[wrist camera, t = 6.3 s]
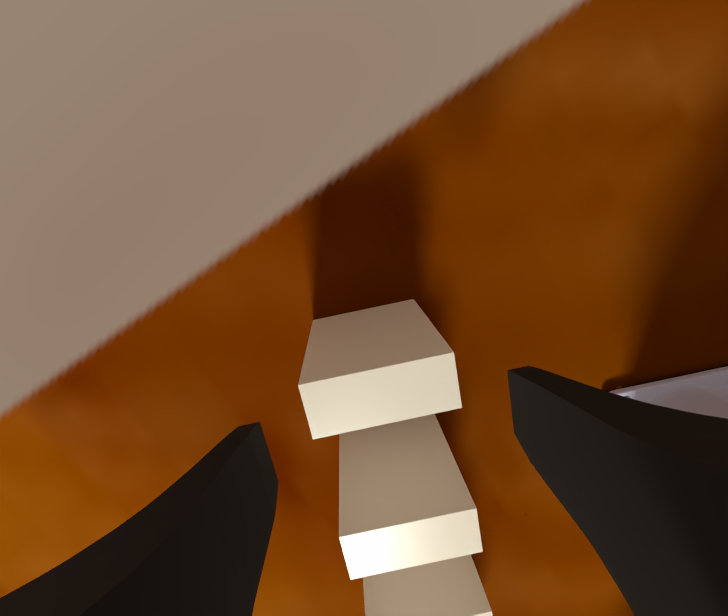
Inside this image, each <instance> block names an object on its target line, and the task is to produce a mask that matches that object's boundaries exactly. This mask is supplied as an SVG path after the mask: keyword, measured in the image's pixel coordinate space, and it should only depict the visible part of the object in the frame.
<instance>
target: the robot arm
mask: <svg viewBox="0 0 728 616" xmlns="http://www.w3.org/2000/svg"><path fill="white" fill-rule="evenodd" d="M507 372H508V381H509V390H510V399H511V408H512V417H513V425H514V433H515V435H516V437H517V439H518V440H519V442H520V444H521V446H522V448H523V450H524V451H525V453H526V455H527V456H528V458H529V460H530V462H531V463H532V465H533V466H534V467H535V469H536V470H537V471H538V473H539V474H540V476H541V477H542V478H543V480H544V481H545V482H546V484H547V485H548V486H549V488H550V489H551V490H552V492H553V493H554V494H555V496H556V497H557V498H558V500H559V501H560V502H561V504H562V505H563V506H564V508H565V509H566V510H567V511H568V513H569V514H570V515H571V517H572V518H573V519H574V521H575V522H576V523H577V525H578V526H579V527H580V529H581V530H582V531H583V533H584V534H585V536H586V537H587V538H588V540H589V541H590V543H591V544H592V546H593V547H594V549H595V550H596V552H597V553H598V555H599V557H600V558H601V560H602V561H603V563H604V565H605V566H606V568H607V569H608V571H609V573H610V574H611V576H612V578H613V579H614V581H615V582H616V584H617V586H618V587H619V589H620V591H621V592H622V594H623V596H624V597H625V599H626V601H627V602H628V604H629V606H630V608H631V609H632V611H633V613H634V614H635V616H728V366H726V367H722V368H717V369H712V370H707V371H703V372H698V373H693V374H688V375H684V376H679V377H674V378H669V379H665V380H660V381H655V382H650V383H646V384H641V385H636V386H632V387H627V388H622V389H617V390H613V391H610V392H607V391H604V390H601V389H598V388H595V387H591V386H588V385H585V384H583V383H580V382H577V381H574V380H571V379H568V378H565V377H562V376H559V375H556V374H554V373H551V372H548V371H545V370H541V369H538V368H535V367H530V366H526V367H522V368H517V369H512V370H507ZM624 396H626V397H624ZM277 490H278V479H277V476H276V473H275V470H274V466H273V463H272V460H271V457H270V453H269V450H268V447H267V444H266V441H265V437H264V434H263V431H262V428H261V424H260V422H257V423H252V424H248V425H243V426H239V427H237V428H236V429H235V430H233V431H232V432H231V433H230V434H229V435H227V436H226V437H225V438H224V439H223V440H222V441H221V442H220V443H218V444H217V445H216V446H215V447H214V448H213V449H212V450H211V451H210V452H209V453H208V454H207V455H205V456H204V457H203V458H202V459H201V460H200V461H199V462H198V463H197V464H196V465H195V466H193V467H192V468H191V469H190V470H189V471H188V472H187V473H186V474H184V475H183V476H182V477H181V478H180V479H178V480H177V481H176V482H175V483H174V484H173V485H171V486H170V487H169V488H168V489H167V490H166V491H164V492H163V493H162V494H161V495H160V496H159V497H157V498H156V499H155V500H154V501H152V502H151V503H150V504H148V505H147V506H146V507H145V508H143V509H142V510H141V511H139V512H138V513H137V514H135V515H134V516H132V517H131V518H130V519H128V520H127V521H126V522H124V523H123V524H121V525H120V526H119V527H117V528H116V529H114V530H113V531H112V532H110V533H109V534H107V535H105V536H104V537H102V538H101V539H99V540H98V541H96V542H95V543H93V544H91V545H90V546H88V547H87V548H85V549H84V550H82V551H81V552H79V553H78V554H76V555H74V556H73V557H71V558H70V559H68V560H67V561H65V562H63V563H62V564H60V565H58V566H57V567H55V568H53V569H51V570H50V571H48V572H46V573H45V574H43V575H41V576H40V577H38V578H36V579H34V580H32V581H31V582H29V583H27V584H25V585H23V586H22V587H20V588H18V589H16V590H14V591H13V592H11V593H9V594H7V595H5V596H3V597H1V598H0V616H252V612H253V607H254V602H255V598H256V594H257V589H258V585H259V581H260V577H261V573H262V569H263V564H264V560H265V556H266V552H267V548H268V544H269V539H270V535H271V531H272V526H273V522H274V517H275V510H276V501H277Z"/></svg>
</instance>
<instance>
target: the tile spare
mask: <svg viewBox="0 0 728 616" xmlns="http://www.w3.org/2000/svg"><path fill="white" fill-rule="evenodd" d="M298 386H299V390H300V394H301V397H302V401H303V405H304V408H305V412H306V416H307V419H308V423H309V427H310V430H311V434H312V438H313V439H317V438H322V437H327V436H332V435H336V434H341V433H346V432H350V431H355V430H360V429H365V428H369V427H374V426H379V425H383V424H388V423H393V422H398V421H402V420H407V419H412V418H416V417H421V416H426V415H431V414H435V413H440V412H445V411H450V410H454V409H459V408H462V404H461V398H460V391H459V384H458V377H457V371H456V364H455V357H454V352H453V351H452V349H451V348H450V347H449V345H448V344H447V343H446V341H445V340H444V339H443V337H442V336H441V335H440V333H439V332H438V331H437V329H436V328H435V327H434V325H433V324H432V323H431V321H430V320H429V319H428V317H427V316H426V315H425V313H424V312H423V311H422V309H421V308H420V307H419V305H418V304H417V303H416V301H415V300H414V299H411V300H406V301H401V302H397V303H392V304H387V305H382V306H378V307H373V308H368V309H363V310H359V311H354V312H349V313H344V314H340V315H335V316H330V317H325V318H321V319H316V320H313V323H312V327H311V331H310V336H309V340H308V345H307V349H306V353H305V358H304V362H303V366H302V371H301V375H300V379H299V384H298Z"/></svg>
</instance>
